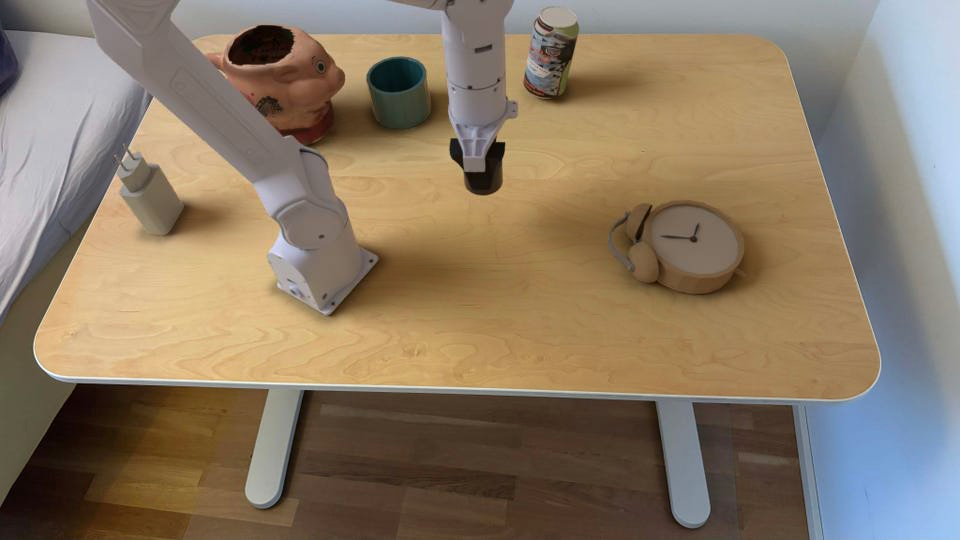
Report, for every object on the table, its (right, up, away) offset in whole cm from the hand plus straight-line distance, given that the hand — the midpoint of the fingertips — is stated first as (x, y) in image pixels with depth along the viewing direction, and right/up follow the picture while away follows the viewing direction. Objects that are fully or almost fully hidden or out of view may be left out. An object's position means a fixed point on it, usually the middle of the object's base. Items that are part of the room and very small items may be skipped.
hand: (482, 171), depth 74 cm
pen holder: (-11, +12, +20) cm, 26 cm away
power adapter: (-40, -5, +10) cm, 42 cm away
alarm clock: (+22, -9, +3) cm, 24 cm away
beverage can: (+10, +15, +22) cm, 28 cm away
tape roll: (0, -1, +1) cm, 2 cm away
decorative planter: (-27, +9, +20) cm, 35 cm away
